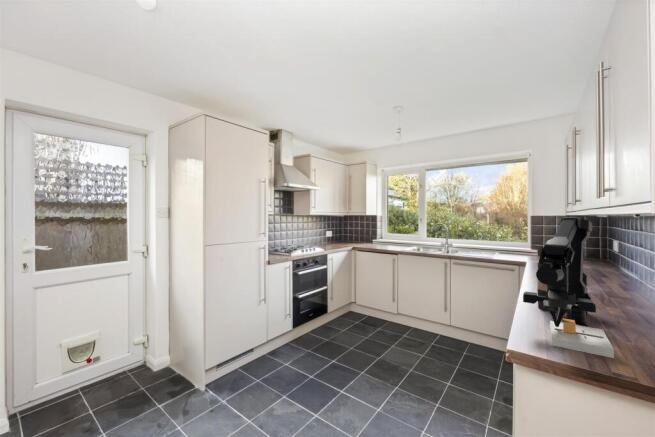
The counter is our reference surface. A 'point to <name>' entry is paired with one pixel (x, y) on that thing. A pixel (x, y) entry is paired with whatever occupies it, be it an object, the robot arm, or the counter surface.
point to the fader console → (582, 340)
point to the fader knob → (569, 326)
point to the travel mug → (542, 292)
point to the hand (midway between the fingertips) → (556, 326)
